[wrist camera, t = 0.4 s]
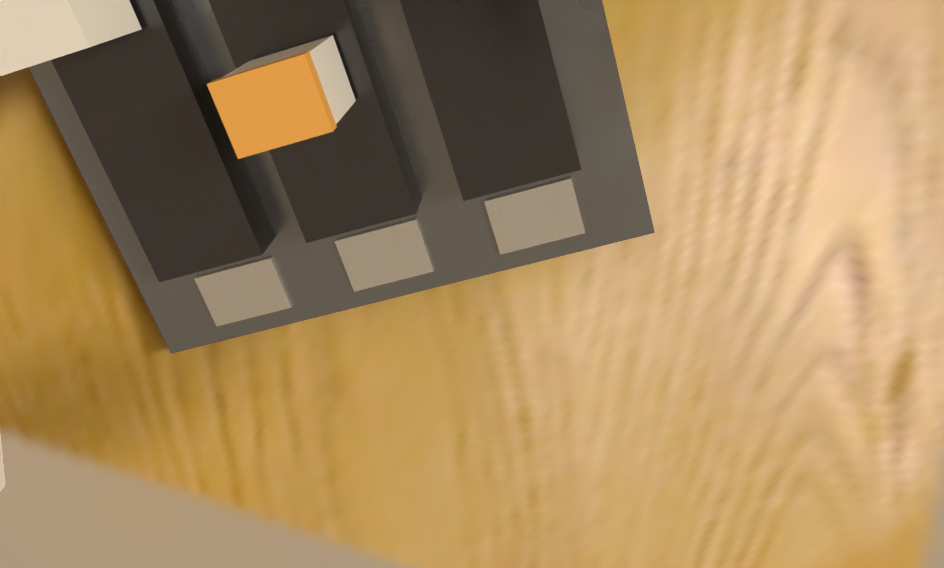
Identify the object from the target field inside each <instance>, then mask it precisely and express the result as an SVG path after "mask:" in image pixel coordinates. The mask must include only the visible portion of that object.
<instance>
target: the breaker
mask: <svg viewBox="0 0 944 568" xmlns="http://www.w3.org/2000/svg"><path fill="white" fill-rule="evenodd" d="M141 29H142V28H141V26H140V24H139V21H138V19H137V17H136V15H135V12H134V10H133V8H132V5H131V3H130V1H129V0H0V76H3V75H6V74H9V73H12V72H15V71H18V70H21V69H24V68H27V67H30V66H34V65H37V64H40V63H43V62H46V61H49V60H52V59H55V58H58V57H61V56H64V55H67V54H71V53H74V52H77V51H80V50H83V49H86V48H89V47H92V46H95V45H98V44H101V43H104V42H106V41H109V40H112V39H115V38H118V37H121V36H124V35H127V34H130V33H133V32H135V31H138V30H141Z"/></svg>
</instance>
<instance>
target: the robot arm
mask: <svg viewBox="0 0 944 568" xmlns="http://www.w3.org/2000/svg"><path fill="white" fill-rule="evenodd" d="M4 486H5V475H4V464H3V455H2V444H1V434H0V491H1V490H2V489H3V488H4Z"/></svg>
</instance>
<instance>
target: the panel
mask: <svg viewBox="0 0 944 568" xmlns="http://www.w3.org/2000/svg"><path fill="white" fill-rule="evenodd" d="M129 1H130V3H131V5H132V8H133V10H134V12H135V15H136V17H137V19H138V21H139V24H140V26H141V28H142V29H141V30H138V31H135V32H133V33H130V34H127V35H124V36H121V37H118V38H115V39H112V40H109V41H106V42H104V43H101V44H98V45H95V46H92V47H89V48H86V49H83V50H80V51H77V52H74V53H71V54H67V55H64V56H61V57H58V58H55V59H52V60H49V61H46V62H43V63H40V64H37V65H34V66H30V67H28V68H29V70H30V72H31V74H32V76H33V78H34V80H35V82H36V84H37V86H38V88H39V90H40V92H41V94H42V96H43V98H44V100H45V102H46V104H47V106H48V108H49V110H50V112H51V114H52V116H53V118H54V120H55V122H56V124H57V126H58V128H59V130H60V132H61V134H62V136H63V138H64V140H65V142H66V144H67V146H68V148H69V150H70V152H71V154H72V156H73V158H74V160H75V162H76V164H77V166H78V168H79V170H80V172H81V174H82V176H83V178H84V180H85V182H86V184H87V186H88V188H89V190H90V192H91V194H92V196H93V198H94V200H95V202H96V204H97V206H98V208H99V210H100V212H101V214H102V216H103V218H104V220H105V222H106V224H107V226H108V228H109V230H110V232H111V234H112V236H113V238H114V240H115V242H116V244H117V246H118V248H119V250H120V252H121V254H122V256H123V258H124V260H125V262H126V264H127V266H128V268H129V270H130V272H131V274H132V276H133V278H134V280H135V282H136V284H137V286H138V288H139V290H140V292H141V294H142V296H143V298H144V300H145V302H146V304H147V306H148V308H149V310H150V312H151V314H152V316H153V318H154V320H155V322H156V324H157V326H158V328H159V330H160V332H161V334H162V336H163V338H164V340H165V342H166V344H167V346H168V348H169V350H170V352H171V353H175V352H179V351H183V350H187V349H191V348H195V347H199V346H203V345H207V344H211V343H215V342H219V341H223V340H227V339H231V338H235V337H239V336H243V335H247V334H251V333H255V332H259V331H263V330H267V329H271V328H275V327H279V326H283V325H287V324H291V323H295V322H299V321H303V320H307V319H311V318H315V317H319V316H323V315H327V314H331V313H335V312H339V311H343V310H347V309H351V308H355V307H359V306H363V305H367V304H371V303H375V302H379V301H383V300H387V299H391V298H395V297H399V296H403V295H407V294H411V293H415V292H419V291H423V290H427V289H431V288H435V287H439V286H443V285H447V284H451V283H455V282H459V281H463V280H467V279H471V278H475V277H479V276H483V275H487V274H491V273H495V272H499V271H503V270H507V269H511V268H515V267H519V266H523V265H527V264H531V263H535V262H539V261H543V260H547V259H551V258H555V257H559V256H563V255H567V254H571V253H575V252H579V251H583V250H587V249H591V248H595V247H599V246H603V245H607V244H611V243H615V242H619V241H623V240H627V239H631V238H635V237H639V236H643V235H647V234H651V233H655V232H654V228H653V224H652V219H651V215H650V210H649V206H648V202H647V197H646V193H645V188H644V184H643V179H642V175H641V171H640V166H639V162H638V157H637V153H636V149H635V144H634V140H633V135H632V131H631V126H630V122H629V118H628V113H627V109H626V104H625V100H624V96H623V91H622V87H621V82H620V78H619V73H618V69H617V65H616V60H615V56H614V51H613V47H612V43H611V38H610V34H609V29H608V25H607V20H606V16H605V12H604V7H603V3H602V0H129ZM332 35H333V37H334V40H335V43H336V46H337V49H338V52H339V54H340V57H341V60H342V63H343V66H344V69H345V71H346V74H347V77H348V80H349V83H350V86H351V88H352V91H353V94H354V97H355V100H356V101H355V102H354V104H353V105H352V106H351V107H350V108H349V110H348V111H347V112H346V113H345V114H344V116H343V117H342V118H341V119H340V120H339V122H338V123H337V124H336V126H337V127H336V129H335V130H334V131H333V132H330V133H327V134H323V135H320V136H316V137H313V138H309V139H306V140H302V141H299V142H296V143H292V144H289V145H285V146H282V147H278V148H275V149H271V150H268V151H264V152H261V153H258V154H254V155H251V156H247V157H244V158H240V159H238V158H237V155H236V153H235V151H234V148H233V146H232V143H231V141H230V139H229V136H228V134H227V131H226V129H225V127H224V124H223V122H222V120H221V117H220V115H219V112H218V110H217V108H216V105H215V103H214V101H213V98H212V96H211V93H210V91H209V89H208V86H207V84H208V83H209V82H211V81H213V80H216V79H219V78H222V77H223V76H225V75H227V74H228V73H230V72H232V71H233V70H235V69H237V68H239V67H240V66H242V65H244V64H245V63H247V62H249V61H251V60H254V59H257V58H261V57H264V56H267V55H270V54H274V53H277V52H280V51H283V50H286V49H290V48H293V47H296V46H299V45H303V44H306V43H309V42H312V41H316V40H319V39H322V38H325V37H328V36H332Z"/></svg>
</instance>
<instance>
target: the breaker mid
mask: <svg viewBox="0 0 944 568" xmlns="http://www.w3.org/2000/svg"><path fill="white" fill-rule="evenodd" d="M207 86H208V89H209V91H210V93H211V96H212V98H213V101H214V103H215V105H216V108H217V110H218V112H219V115H220V117H221V120H222V122H223V124H224V127H225V129H226V131H227V134H228V136H229V139H230V141H231V143H232V146H233V148H234V151H235V153H236V155H237V158H238V159H240V158H244V157H247V156H251V155H254V154H258V153H261V152H264V151H268V150H271V149H275V148H278V147H282V146H285V145H289V144H292V143H296V142H299V141H302V140H306V139H309V138H313V137H316V136H320V135H323V134H327V133H330V132H333V131H334V130H335V129H336V127H337V126H336V124H337V123H338V122H339V120H340V119H341V118H342V117H343V116H344V114H345V113H346V112H347V111H348V110H349V108H350V107H351V106H352V105H353V104H354V102H355V101H356V100H355V97H354V94H353V91H352V88H351V86H350V83H349V80H348V77H347V74H346V71H345V69H344V66H343V63H342V60H341V57H340V54H339V52H338V49H337V46H336V43H335V40H334V37H333V35H332V36H328V37H325V38H322V39H319V40H316V41H312V42H309V43H306V44H303V45H299V46H296V47H293V48H290V49H286V50H283V51H280V52H277V53H274V54H270V55H267V56H264V57H261V58H257V59H254V60H251V61H249V62H247V63H245V64H244V65H242V66H240V67H239V68H237V69H235V70H233V71H232V72H230V73H228V74H227V75H225V76H223V77H222V78H219V79H216V80H213V81H211V82H209V83H208V84H207Z"/></svg>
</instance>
